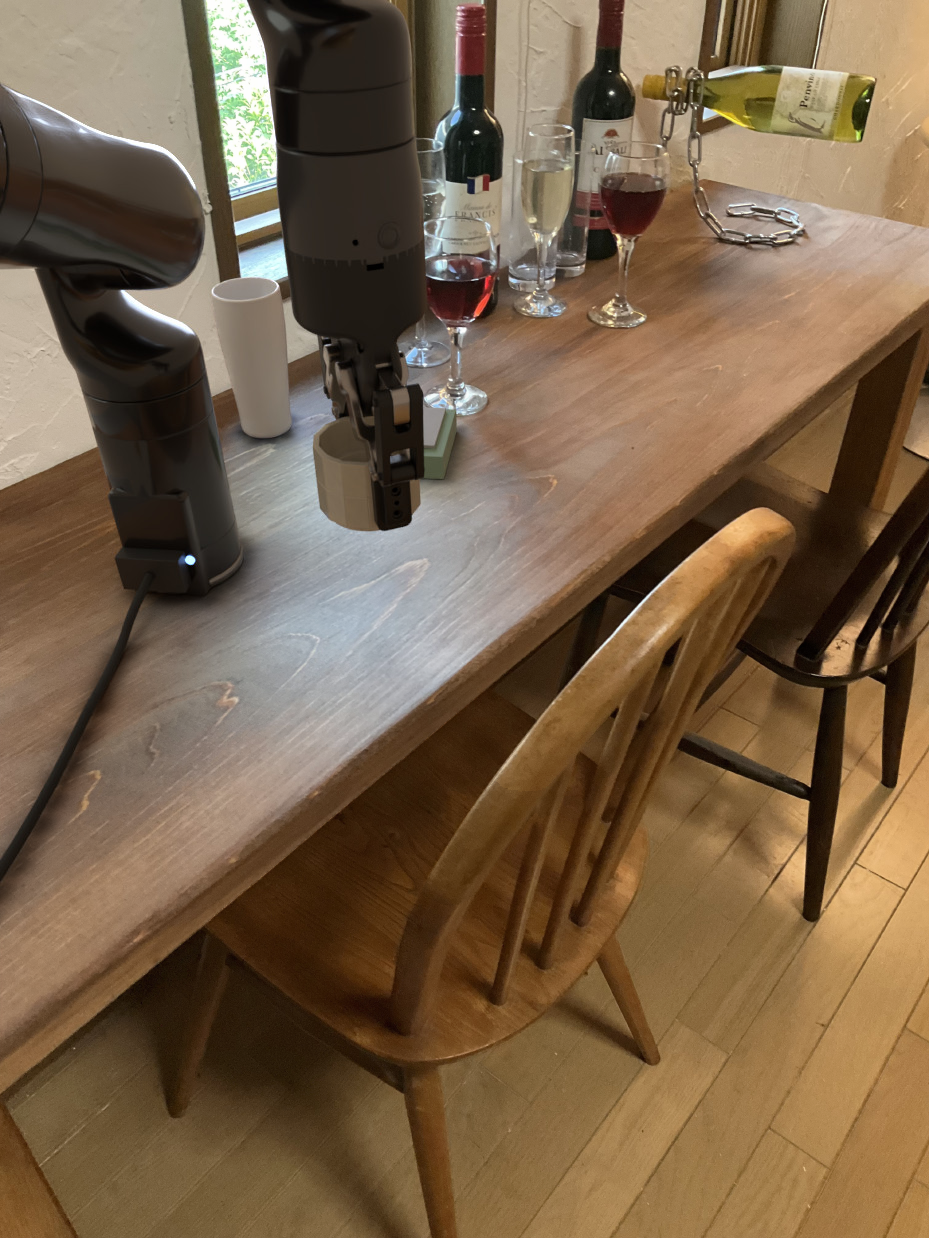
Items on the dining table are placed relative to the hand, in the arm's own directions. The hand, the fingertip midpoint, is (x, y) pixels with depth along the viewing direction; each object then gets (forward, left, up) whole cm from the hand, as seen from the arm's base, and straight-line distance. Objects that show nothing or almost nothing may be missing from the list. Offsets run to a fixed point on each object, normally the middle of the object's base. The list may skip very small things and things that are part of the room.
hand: (376, 496), depth 62 cm
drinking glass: (+37, +20, -16) cm, 45 cm away
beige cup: (0, 0, -1) cm, 1 cm away
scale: (+33, +5, -16) cm, 37 cm away
